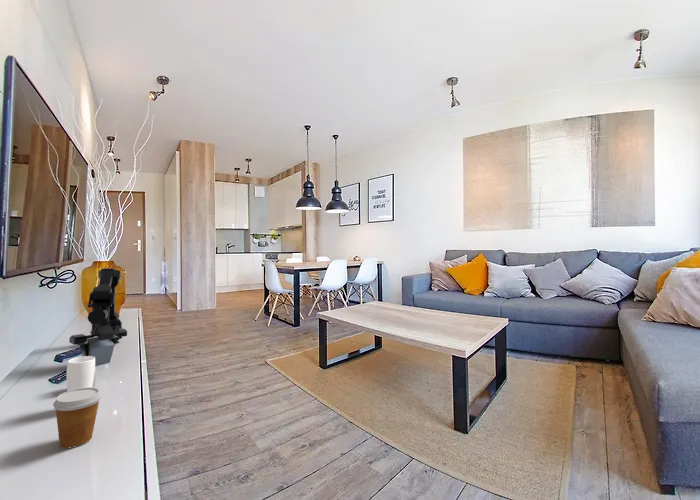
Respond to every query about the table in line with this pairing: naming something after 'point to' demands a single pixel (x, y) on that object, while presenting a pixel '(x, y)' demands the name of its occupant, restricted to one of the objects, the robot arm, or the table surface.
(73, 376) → the white paper cup
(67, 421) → the disposable coffee cup
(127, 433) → the table surface
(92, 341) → the grey cube
